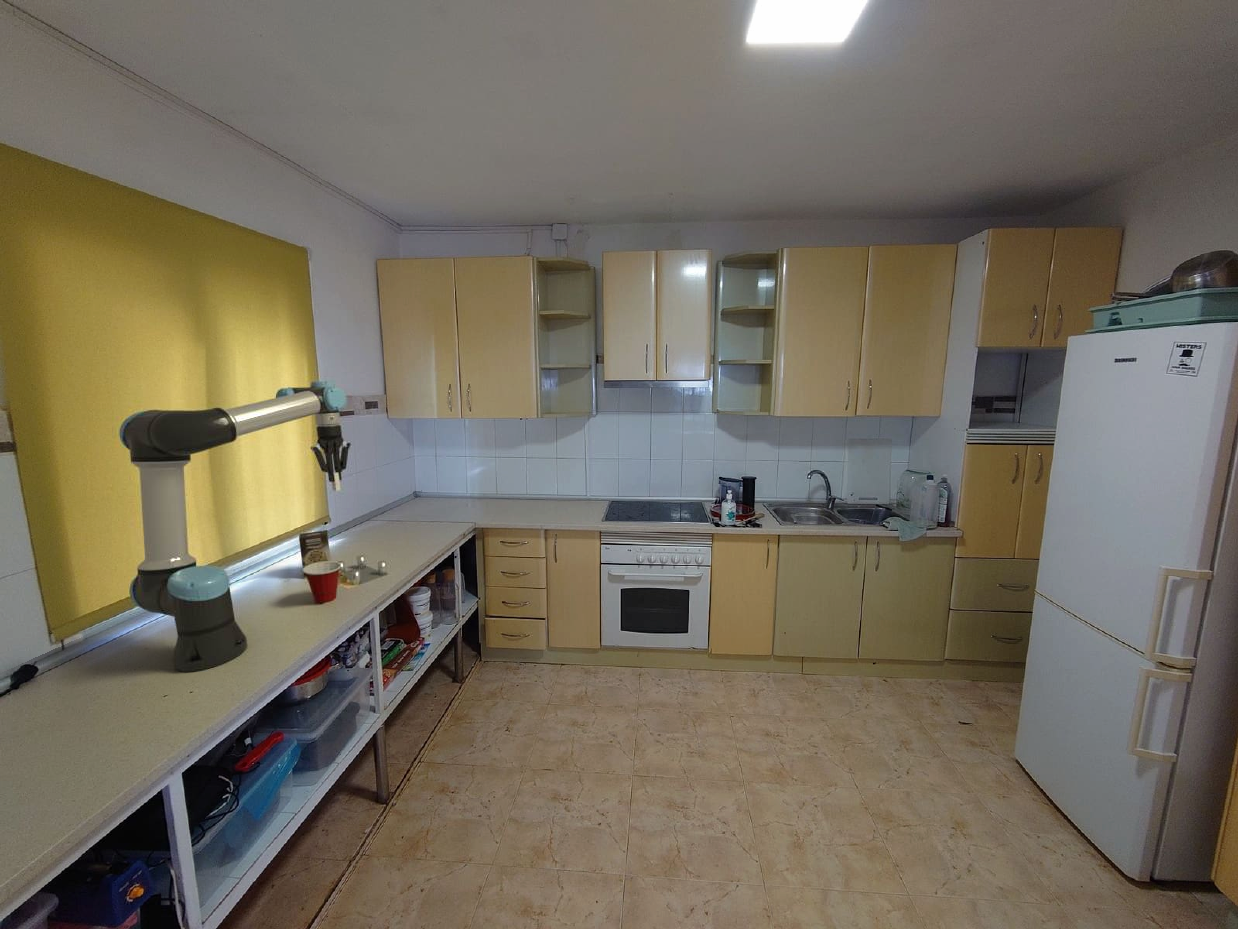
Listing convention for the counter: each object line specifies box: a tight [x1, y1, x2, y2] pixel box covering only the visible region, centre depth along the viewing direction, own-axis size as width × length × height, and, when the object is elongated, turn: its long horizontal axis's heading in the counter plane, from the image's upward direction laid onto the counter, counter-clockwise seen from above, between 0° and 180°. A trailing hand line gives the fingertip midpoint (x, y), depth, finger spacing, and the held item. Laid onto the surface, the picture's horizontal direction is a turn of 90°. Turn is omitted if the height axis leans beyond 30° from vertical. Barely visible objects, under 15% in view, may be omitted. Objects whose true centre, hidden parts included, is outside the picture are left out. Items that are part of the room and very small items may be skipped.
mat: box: [337, 565, 389, 590], centre depth 180 cm, size 15×17×1 cm
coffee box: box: [298, 529, 332, 580], centre depth 182 cm, size 9×6×16 cm
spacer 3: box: [356, 554, 367, 569], centre depth 188 cm, size 3×3×5 cm
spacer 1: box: [337, 560, 346, 573], centre depth 182 cm, size 3×3×5 cm
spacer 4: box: [377, 560, 388, 577], centre depth 181 cm, size 3×3×5 cm
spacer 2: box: [351, 570, 362, 586], centre depth 173 cm, size 3×3×5 cm
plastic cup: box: [302, 560, 341, 605], centre depth 160 cm, size 11×11×12 cm
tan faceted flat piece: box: [338, 573, 348, 584], centre depth 175 cm, size 5×4×2 cm
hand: (336, 490), depth 177 cm, fingers closed
